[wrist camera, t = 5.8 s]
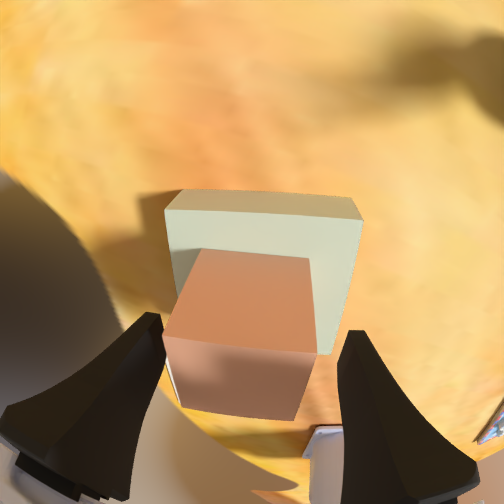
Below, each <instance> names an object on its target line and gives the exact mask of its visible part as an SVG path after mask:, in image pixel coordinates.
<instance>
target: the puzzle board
mask: <svg viewBox="0 0 504 504" xmlns="http://www.w3.org/2000/svg"><path fill="white" fill-rule="evenodd" d="M503 434H504V402H503V404H502V405H501V407H500V409H499V410H498V412H497V413H496V414H495V416H494V417H493V419H492V420H491V422H490V423H489V424H488V426H487V427H486V429H485V430H484V431H483V433H482V434H481V435H480V437H479V438H478V439H477V445H480V444H482V443H484V442H486V441H488V440H490V439H492V438H494V437H496V436H498V437H500V436H502V435H503Z"/></svg>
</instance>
